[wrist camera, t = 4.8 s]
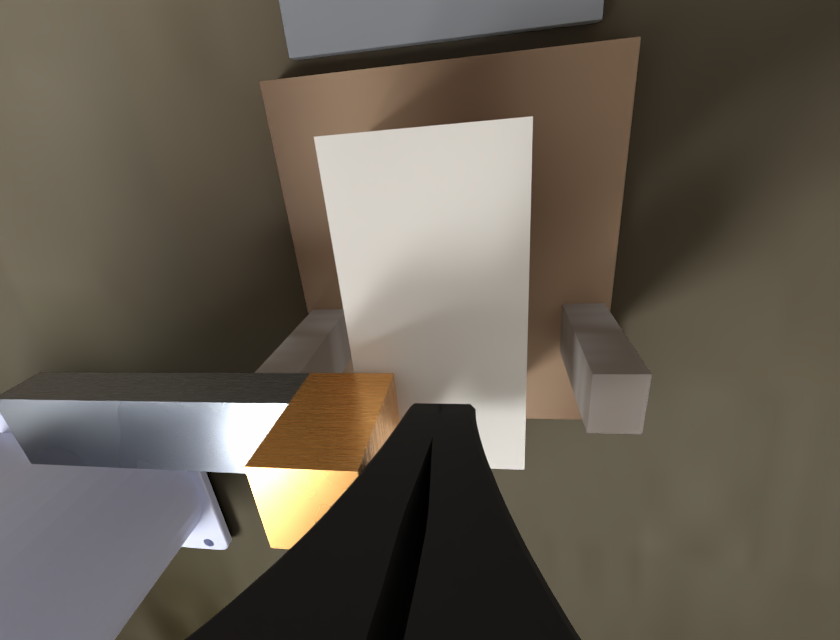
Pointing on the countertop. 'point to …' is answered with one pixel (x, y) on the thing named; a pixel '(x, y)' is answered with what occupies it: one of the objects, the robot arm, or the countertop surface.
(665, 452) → the countertop surface
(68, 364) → the countertop surface
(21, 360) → the countertop surface
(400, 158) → the white block
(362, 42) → the mat
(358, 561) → the robot arm
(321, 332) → the brown stand with pegs
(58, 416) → the gray and orange bar
